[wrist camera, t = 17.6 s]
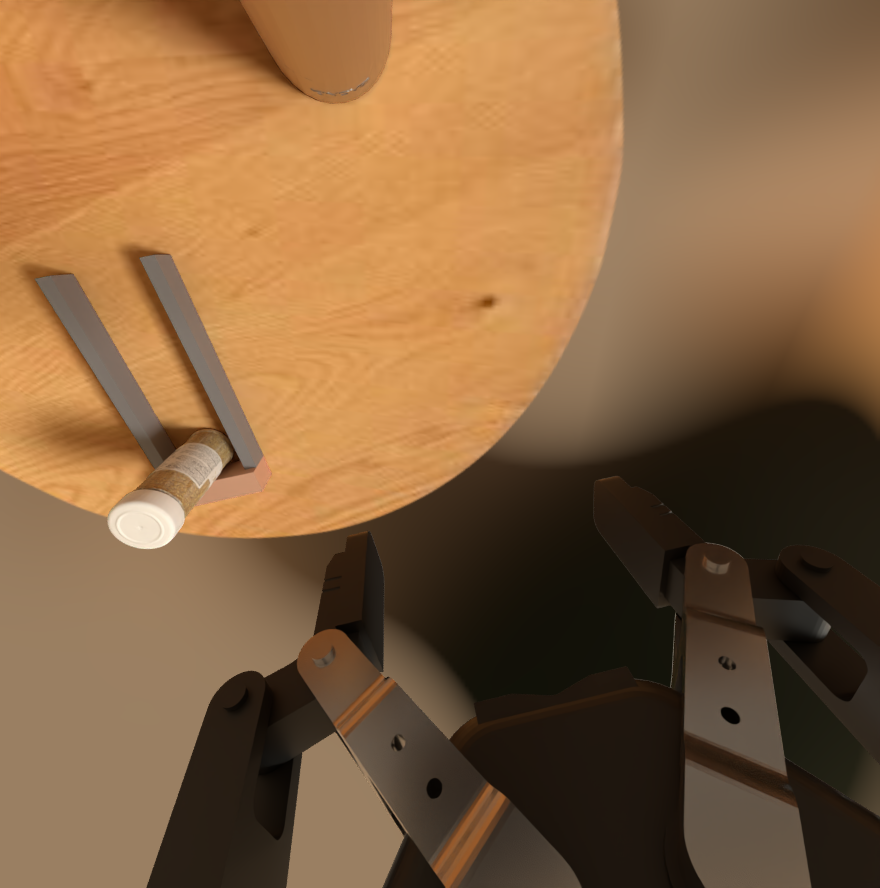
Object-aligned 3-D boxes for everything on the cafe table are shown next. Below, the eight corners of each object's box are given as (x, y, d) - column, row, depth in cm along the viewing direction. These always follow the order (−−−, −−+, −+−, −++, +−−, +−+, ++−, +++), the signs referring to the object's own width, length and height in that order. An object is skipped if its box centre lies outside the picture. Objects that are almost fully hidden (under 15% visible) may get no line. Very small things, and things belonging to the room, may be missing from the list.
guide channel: (59, 276, 32) (23, 279, 29) (170, 254, 32) (147, 254, 29) (188, 492, 42) (172, 511, 39) (271, 473, 42) (262, 491, 39)
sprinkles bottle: (213, 472, 41) (143, 560, 30) (178, 441, 39) (89, 523, 28) (245, 450, 41) (187, 532, 29) (211, 418, 39) (134, 492, 27)
